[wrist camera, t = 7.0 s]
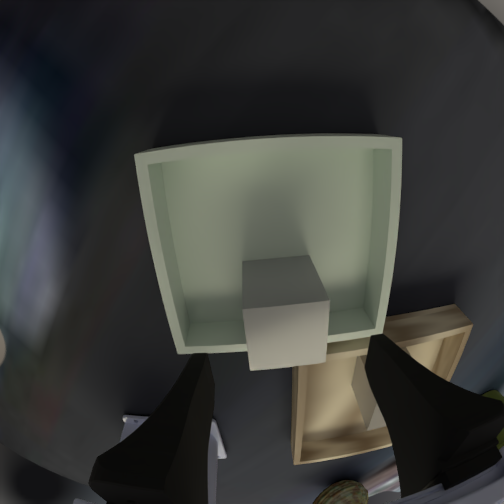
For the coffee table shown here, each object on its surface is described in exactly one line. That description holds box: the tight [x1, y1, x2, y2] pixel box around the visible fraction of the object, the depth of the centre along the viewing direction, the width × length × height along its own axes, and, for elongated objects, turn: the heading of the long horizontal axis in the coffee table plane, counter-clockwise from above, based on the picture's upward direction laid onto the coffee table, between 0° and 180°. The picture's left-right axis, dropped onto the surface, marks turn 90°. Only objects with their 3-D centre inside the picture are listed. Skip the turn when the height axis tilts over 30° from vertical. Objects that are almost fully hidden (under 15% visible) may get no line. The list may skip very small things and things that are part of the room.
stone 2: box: [351, 347, 411, 431], centre depth 20 cm, size 4×4×5 cm
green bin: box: [134, 133, 402, 354], centre depth 17 cm, size 13×12×3 cm
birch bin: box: [291, 304, 473, 465], centre depth 23 cm, size 14×16×3 cm
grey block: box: [242, 255, 330, 371], centre depth 17 cm, size 4×4×5 cm
